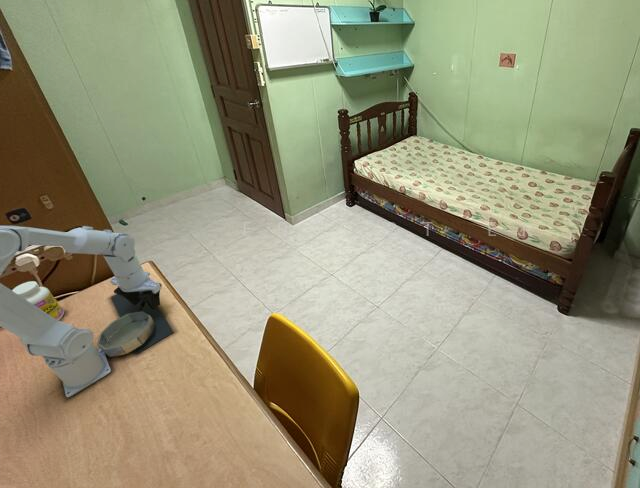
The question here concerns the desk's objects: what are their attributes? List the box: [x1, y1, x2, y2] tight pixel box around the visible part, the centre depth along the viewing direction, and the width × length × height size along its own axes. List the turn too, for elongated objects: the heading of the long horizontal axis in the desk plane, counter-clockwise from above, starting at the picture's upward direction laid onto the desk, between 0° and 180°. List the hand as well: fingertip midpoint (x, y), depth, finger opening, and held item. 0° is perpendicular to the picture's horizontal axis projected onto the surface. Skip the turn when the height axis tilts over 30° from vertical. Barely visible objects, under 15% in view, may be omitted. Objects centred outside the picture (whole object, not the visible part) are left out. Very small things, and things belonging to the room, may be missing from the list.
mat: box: [110, 291, 175, 355], centre depth 91 cm, size 28×8×1 cm, turn 50°
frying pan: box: [96, 300, 155, 358], centre depth 86 cm, size 19×11×4 cm, turn 11°
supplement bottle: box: [12, 280, 65, 321], centre depth 86 cm, size 7×7×13 cm
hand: (146, 304), depth 91 cm, fingers open, 6 cm apart
